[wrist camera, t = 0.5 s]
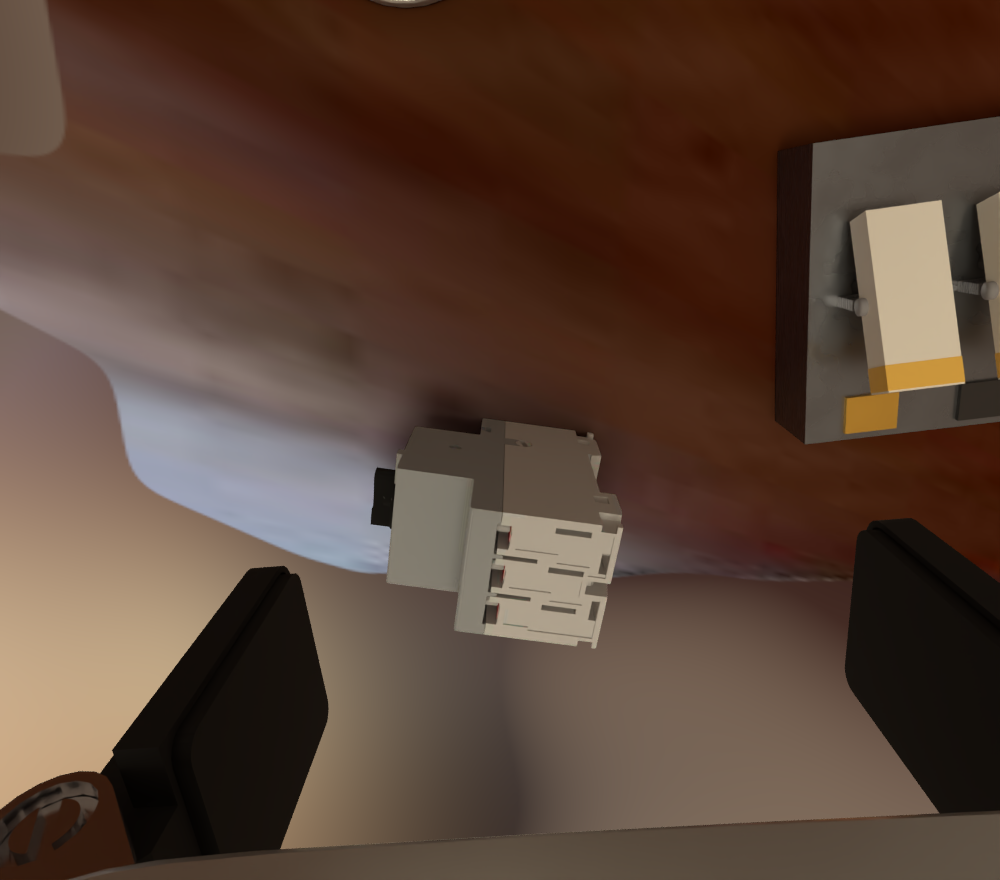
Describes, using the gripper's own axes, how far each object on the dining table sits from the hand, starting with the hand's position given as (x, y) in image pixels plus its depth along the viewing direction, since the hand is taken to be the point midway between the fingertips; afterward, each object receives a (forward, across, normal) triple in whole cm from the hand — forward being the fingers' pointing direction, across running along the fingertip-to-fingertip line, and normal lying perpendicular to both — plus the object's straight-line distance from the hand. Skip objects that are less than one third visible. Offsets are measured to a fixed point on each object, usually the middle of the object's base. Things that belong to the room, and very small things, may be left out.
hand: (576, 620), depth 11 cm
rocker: (+28, -21, 0) cm, 35 cm away
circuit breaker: (+36, +4, +11) cm, 38 cm away
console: (+35, -28, 0) cm, 45 cm away
